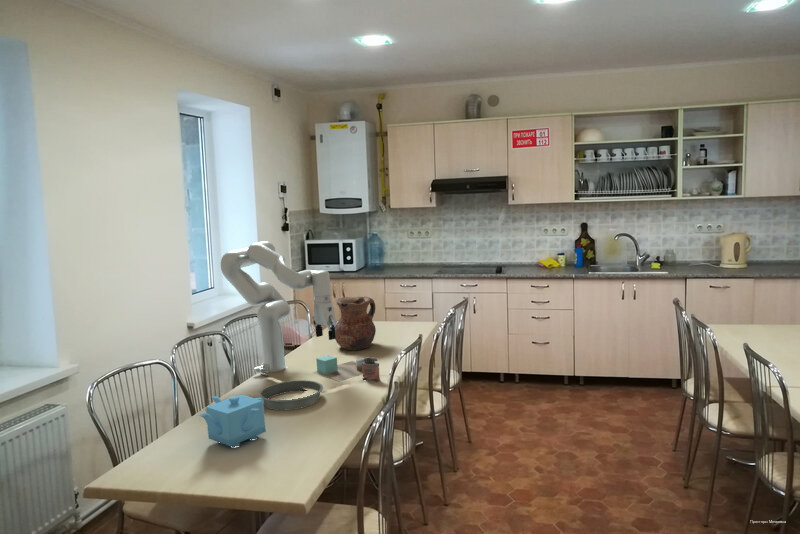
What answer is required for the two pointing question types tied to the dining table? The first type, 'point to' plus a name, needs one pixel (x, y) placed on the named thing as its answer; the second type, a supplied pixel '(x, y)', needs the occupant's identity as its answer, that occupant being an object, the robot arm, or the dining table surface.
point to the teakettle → (235, 419)
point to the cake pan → (288, 387)
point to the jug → (355, 323)
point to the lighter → (370, 369)
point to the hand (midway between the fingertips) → (325, 337)
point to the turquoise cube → (326, 364)
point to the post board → (346, 370)
